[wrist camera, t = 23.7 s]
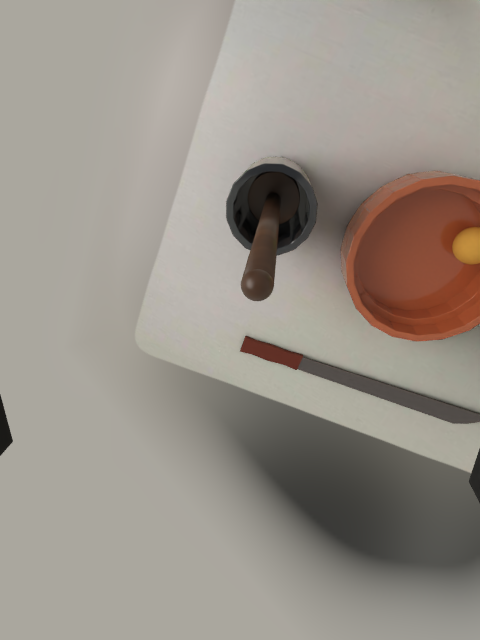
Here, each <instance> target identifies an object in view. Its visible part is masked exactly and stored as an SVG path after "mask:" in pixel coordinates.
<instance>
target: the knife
mask: <svg viewBox="0 0 480 640" xmlns="http://www.w3.org/2000/svg"><path fill="white" fill-rule="evenodd" d="M240 352H245V353H249V354H253V355H255V356H258V357H260V358H263V359H265V360H268V361H271V362H275V363H279V364H283V365H286V366H288V367H290V368H293V369H295V370H297V369H299V370H302V371H305V372H308V373H311V374H313V375H316V376H319V377H322V378H325V379H328V380H331V381H333V382H336V383H339V384H342V385H345V386H348V387H351V388H353V389H356V390H359V391H362V392H365V393H368V394H371V395H374V396H376V397H379V398H382V399H385V400H388V401H391V402H394V403H396V404H399V405H402V406H405V407H408V408H411V409H414V410H416V411H419V412H422V413H425V414H428V415H431V416H434V417H436V418H439V419H442V420H445V421H448V422H451V423H475V422H480V414H479V413H475V412H472V411H469V410H466V409H463V408H460V407H457V406H454V405H451V404H448V403H444V402H441V401H438V400H435V399H432V398H429V397H426V396H423V395H420V394H416V393H413V392H410V391H407V390H404V389H401V388H398V387H395V386H392V385H389V384H385V383H382V382H379V381H376V380H373V379H370V378H367V377H364V376H361V375H358V374H354V373H351V372H348V371H345V370H342V369H339V368H336V367H333V366H330V365H326V364H323V363H320V362H317V361H314V360H311V359H308V358H305V357H303V355H302V354H298V353H294V352H291V351H288V350H285V349H282V348H280V347H277V346H275V345H272V344H268V343H265V342H261V341H257V340H255V339H252V338H250V337H248V336H245V339H244V342H243V344H242V347H241V350H240Z"/></svg>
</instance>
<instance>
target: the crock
mask: <svg viewBox="0 0 480 640" xmlns="http://www.w3.org/2000/svg"><path fill="white" fill-rule="evenodd" d="M263 172H282V173H284V174H286V175H288V176H290V177H292V178H294V179H295V181H296V183H297V185H298V188H299V193H300V203H299V207H298V209H297V211H296V213H295V214H294V215H293V217H292V218H291V219H289V220H288V221H286V222H285V223H282V224H279V230H278V242H277V253H276V256H277V255H281V254H284V253H287V252H289V251H292V250H294V249H296V248H297V247H298V246H299V245H300V244H301V243H303V242H304V241H305V240H306V239H307V238H308V236H309V234H310V232H311V231H312V229H313V227H314V225H315V223H316V214H317V201H316V198H315V194H314V191H313V188H312V185H311V183H310V180H309V178H308V176H307V174H306V173H305V172H304V171H303V169H302V168H301V167H300V166H299V165H298V164H297V163H295V162H293V161H291V160H289V159H287V158H283V157H267V158H264V159H261V160H259V161H257V162H254V163H253V164H252V165H251V166H250V167H249V168H248V169H247V170H246V171H245V172H244V173H243V174H242V175H241V176H240V177H239V178H238V179H237V180H236V182H235V183H234V184H233V186H232V188H231V191H230V193H229V196H228V198H227V201H226V218H227V221H228V224H229V227H230V229H231V232H232V234H233V236H234V237H235V238H236V239H237V240H238V241H239V242H240V243H241V244H242V245H243V246H244V247H245V248H246V249H249V250H251V247H252V244H253V240H254V237H255V234H256V230H257V227H258V224H259V220H258V219H256V218H255V217H254V215H253V214H252V213H251V211H250V208H249V205H248V192H249V189H250V187H251V185H252V183H253V181H254V180H255V179H256V178H257V177H258V176H259V175H260V174H261V173H263Z"/></svg>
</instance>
